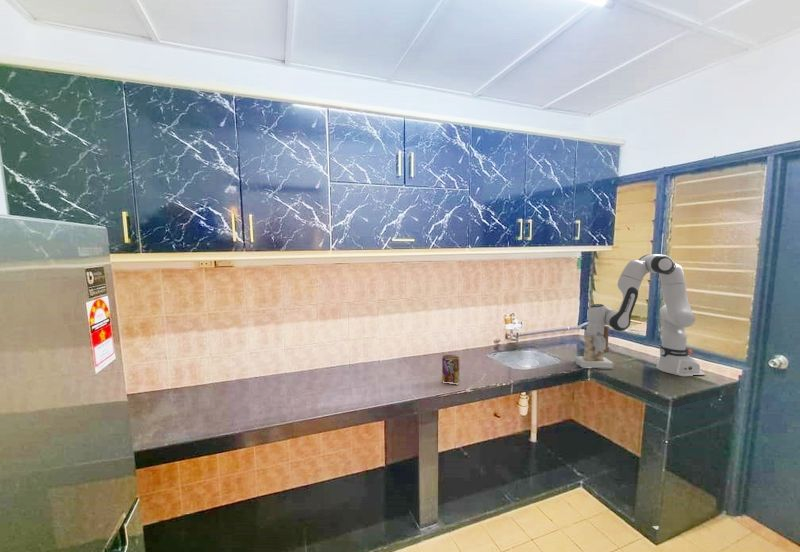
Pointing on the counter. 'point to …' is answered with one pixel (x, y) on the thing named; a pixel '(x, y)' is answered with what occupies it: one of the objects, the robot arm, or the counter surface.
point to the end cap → (594, 363)
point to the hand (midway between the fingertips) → (593, 352)
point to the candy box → (450, 368)
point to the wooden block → (606, 337)
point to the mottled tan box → (591, 350)
